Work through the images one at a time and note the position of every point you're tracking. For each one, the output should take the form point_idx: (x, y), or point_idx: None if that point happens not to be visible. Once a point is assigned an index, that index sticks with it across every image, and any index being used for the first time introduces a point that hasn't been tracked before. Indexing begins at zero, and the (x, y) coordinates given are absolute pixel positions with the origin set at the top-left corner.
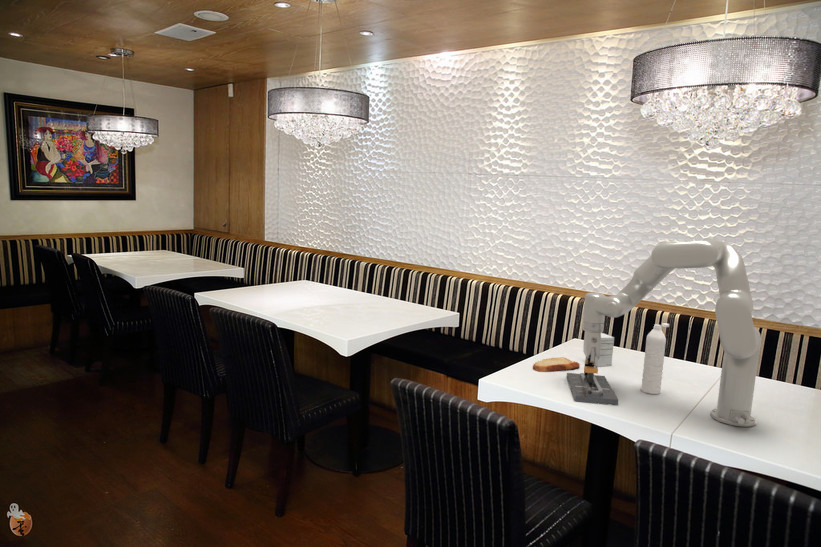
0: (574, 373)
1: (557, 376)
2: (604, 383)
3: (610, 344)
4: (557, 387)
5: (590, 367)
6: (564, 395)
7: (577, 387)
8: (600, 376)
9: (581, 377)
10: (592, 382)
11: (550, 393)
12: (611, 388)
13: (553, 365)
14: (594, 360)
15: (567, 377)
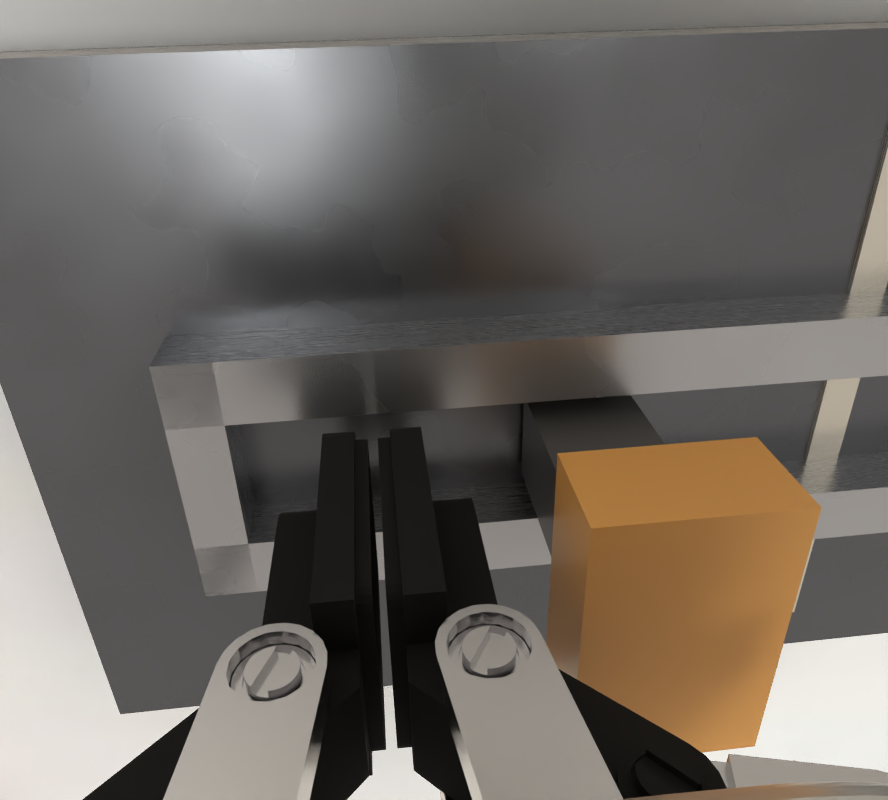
0: (98, 626)
1: (145, 732)
2: (532, 151)
3: None
4: None
5: (666, 663)
6: (869, 646)
7: (819, 588)
8: (2, 177)
9: None
10: (632, 404)
11: (811, 749)
12: (848, 37)
13: None
14: (604, 764)
15: None
